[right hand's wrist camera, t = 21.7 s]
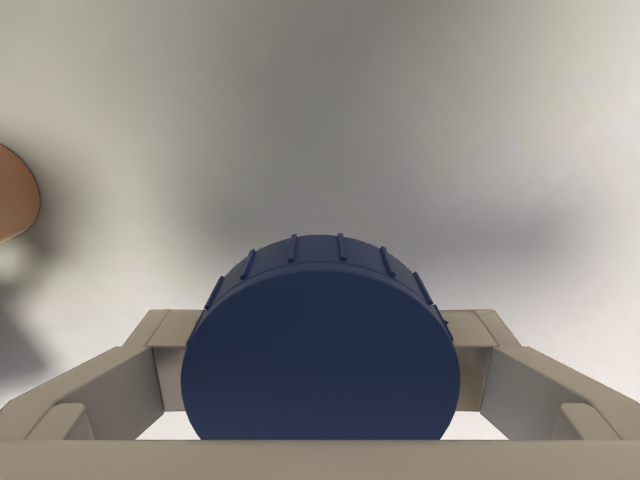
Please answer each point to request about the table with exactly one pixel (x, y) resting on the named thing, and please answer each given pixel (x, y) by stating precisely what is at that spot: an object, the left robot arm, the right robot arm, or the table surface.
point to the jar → (16, 196)
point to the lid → (320, 349)
